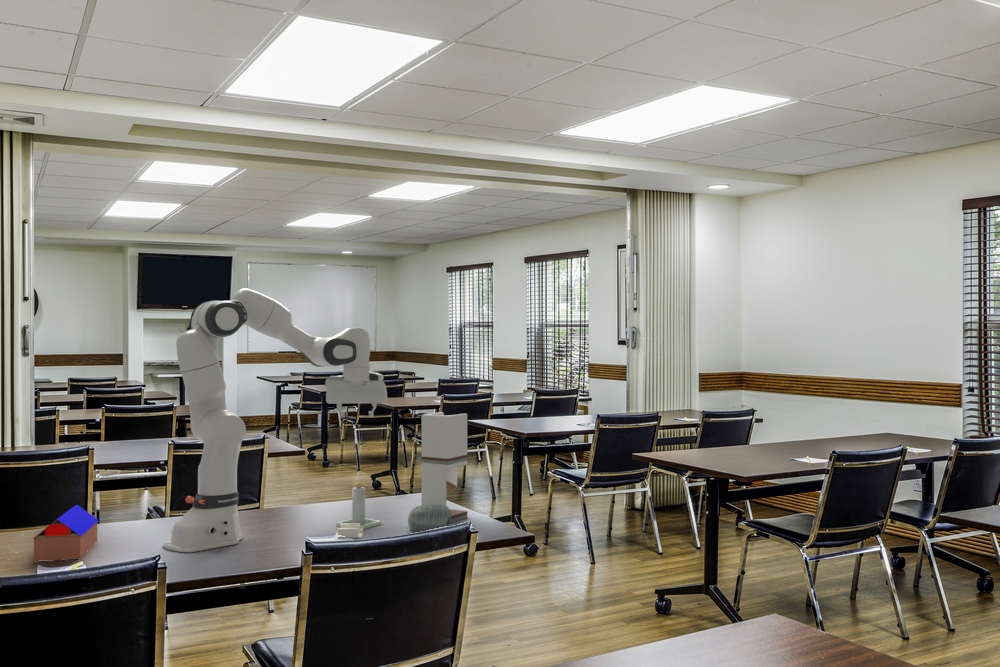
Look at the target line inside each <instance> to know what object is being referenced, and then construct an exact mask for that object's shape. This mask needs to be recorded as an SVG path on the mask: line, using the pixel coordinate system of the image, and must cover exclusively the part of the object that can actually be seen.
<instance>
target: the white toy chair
mask: <svg viewBox="0 0 1000 667" xmlns="http://www.w3.org/2000/svg"><path fill="white" fill-rule="evenodd" d="M364 530H365V529H364V527H363V528H361V529H360V523H341V524H340V527H338V528H337V531H336V533H335V535H334V537H336V536H337V535H342V536H345V537H348V539H352V538H353V539H355V538H358V539H359V538H362V536H363V534H364Z"/></svg>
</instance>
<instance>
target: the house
mask: <svg viewBox="0 0 1000 667" xmlns="http://www.w3.org/2000/svg"><path fill="white" fill-rule="evenodd" d="M98 522H99V519H98V518H96V517H95V516H93V515H92V514H91V513H89V512H88V511H86V510H85V509H84V508H82V507H81V505H78V504H76V505H74V506H73V507H71V508H70V509H68V510H67V511H66V512H64V513H63V514H62V515H61V516H59V517H58V518H56V519H55V520H53V522H51V523H50V524H49V525H47V526H46V527H45V528H44V529H43V530H41V532H39V533H38V534H36V535H35V536H34V537H33V538H32V539H33V562H34V561H39V560H62V559H76V558H81V557H82V556H83V555H84V554H85V553H86V552H87V550H89V548H91V547H92V546H93V545H94V544H95V543H96V542H97V543H98ZM97 543H96V544H97ZM96 544H95V545H96ZM95 545H94V546H95ZM94 546H93V547H94ZM93 547H92V548H93ZM92 548H91V549H92ZM89 551H90V550H89ZM87 553H88V552H87ZM87 553H86V554H87ZM86 554H85V555H86ZM85 555H84V556H85ZM84 556H83V557H84ZM83 557H82V558H83ZM82 558H81V559H82Z"/></svg>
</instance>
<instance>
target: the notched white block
mask: <svg viewBox="0 0 1000 667" xmlns="http://www.w3.org/2000/svg"><path fill="white" fill-rule="evenodd" d="M467 465H468V413H459V414H451V415H449V414H448V415H447V414H446V415H445V414H444V412H443V411H440V412H433V413H426V414H421V506H422V505H429V504H437V505H445V506H447V495H449V494H452V493H453V492H455V491H456V490H457V489H458V467H463V466H467ZM449 510H450V513H451V520H450V524H451V523H455V522H458V521H460V520H459V519H461V520H464V519H466V518H468V511H467V510H461V509H454V508H449ZM463 518H464V519H463ZM457 520H458V521H457Z"/></svg>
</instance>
